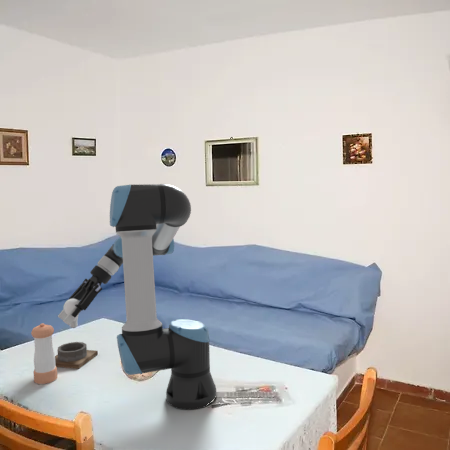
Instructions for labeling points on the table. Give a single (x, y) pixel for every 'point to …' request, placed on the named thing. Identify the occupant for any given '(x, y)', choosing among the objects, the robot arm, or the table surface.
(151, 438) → the table surface
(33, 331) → the salt shaker
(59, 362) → the grey bowl on board
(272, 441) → the table surface
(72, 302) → the lightbulb
